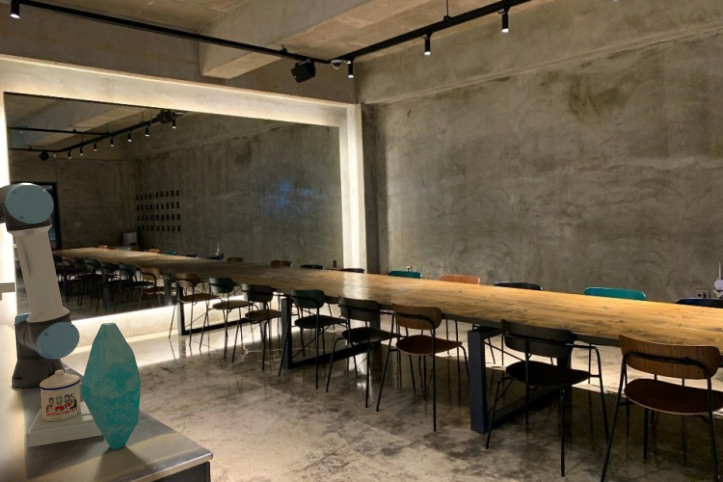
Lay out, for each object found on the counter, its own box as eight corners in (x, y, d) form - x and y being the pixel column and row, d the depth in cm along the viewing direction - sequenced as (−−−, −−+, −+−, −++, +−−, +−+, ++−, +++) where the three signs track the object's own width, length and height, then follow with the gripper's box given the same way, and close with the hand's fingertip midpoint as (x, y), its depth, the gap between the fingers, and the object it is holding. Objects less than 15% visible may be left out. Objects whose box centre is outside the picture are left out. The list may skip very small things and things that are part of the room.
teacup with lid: (42, 425, 126) (39, 379, 125) (40, 413, 134) (37, 369, 133) (96, 413, 133) (94, 369, 132) (92, 402, 141) (89, 360, 140)
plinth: (40, 421, 139) (39, 406, 138) (106, 411, 144) (106, 397, 144) (27, 447, 124) (26, 431, 123) (101, 435, 130) (100, 420, 129)
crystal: (101, 467, 114) (94, 334, 111) (78, 448, 123) (71, 324, 121) (154, 448, 123) (149, 323, 120) (129, 431, 132) (124, 315, 130)
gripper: (-70, 303, 143) (20, 296, 151) (-113, 322, 120) (-4, 313, 128) (-72, 276, 142) (18, 271, 150) (-116, 290, 119) (-6, 283, 127)
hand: (8, 290), depth 139 cm, fingers open, 13 cm apart
